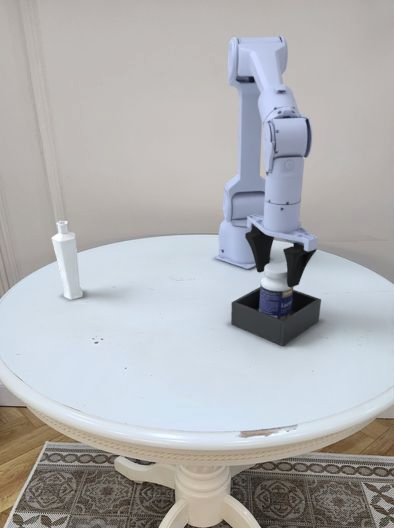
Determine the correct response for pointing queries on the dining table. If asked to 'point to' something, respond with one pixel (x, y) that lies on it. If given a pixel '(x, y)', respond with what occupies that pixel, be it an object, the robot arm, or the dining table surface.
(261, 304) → the pill bottle
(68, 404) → the dining table surface
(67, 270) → the perfume bottle
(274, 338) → the basket
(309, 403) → the dining table surface
